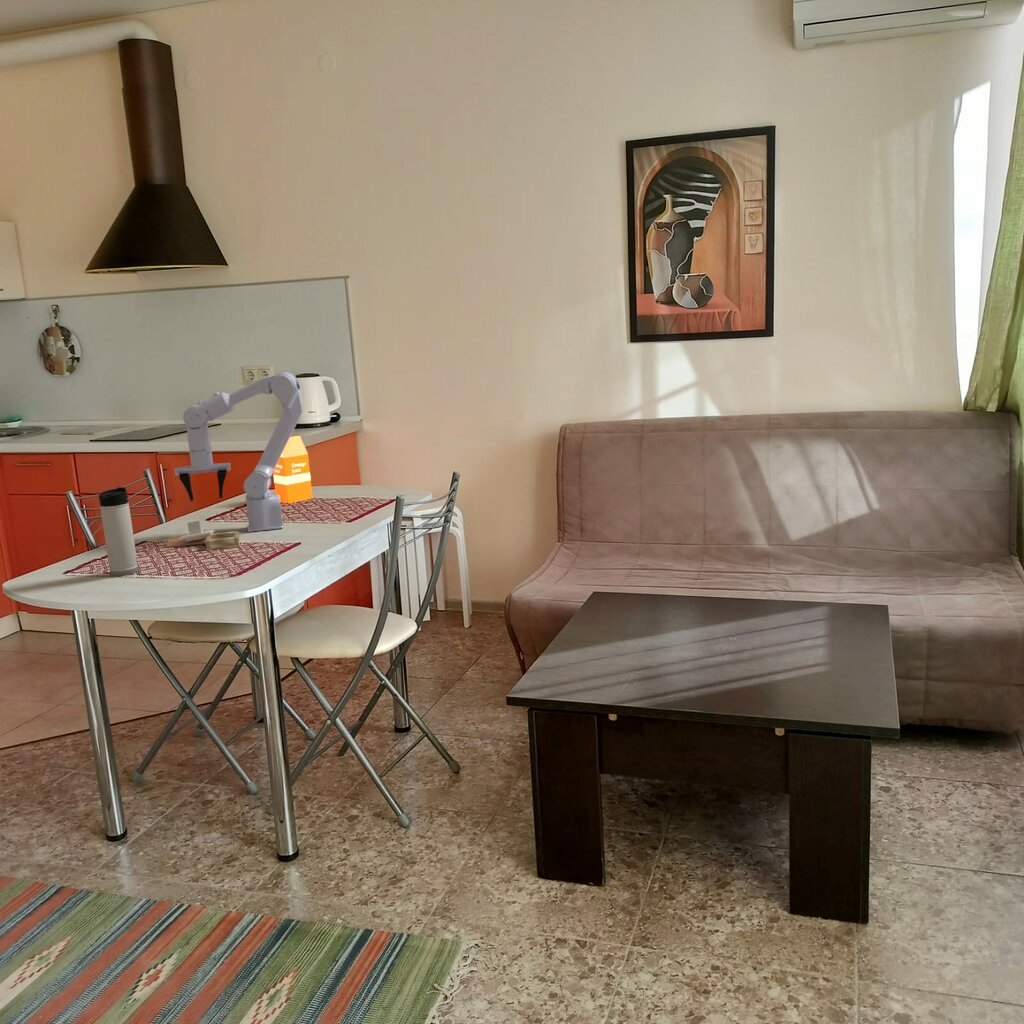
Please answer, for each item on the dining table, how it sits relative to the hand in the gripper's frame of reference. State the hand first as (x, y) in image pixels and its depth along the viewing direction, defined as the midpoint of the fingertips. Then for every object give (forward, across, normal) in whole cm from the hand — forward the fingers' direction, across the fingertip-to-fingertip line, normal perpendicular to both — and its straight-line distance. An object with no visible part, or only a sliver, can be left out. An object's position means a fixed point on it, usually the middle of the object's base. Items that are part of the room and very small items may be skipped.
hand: (206, 498), depth 268 cm
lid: (+8, +3, +11) cm, 14 cm away
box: (+9, -4, +18) cm, 21 cm away
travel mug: (+10, +18, +36) cm, 41 cm away
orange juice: (+10, -24, -36) cm, 44 cm away
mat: (+9, +5, +8) cm, 13 cm away
